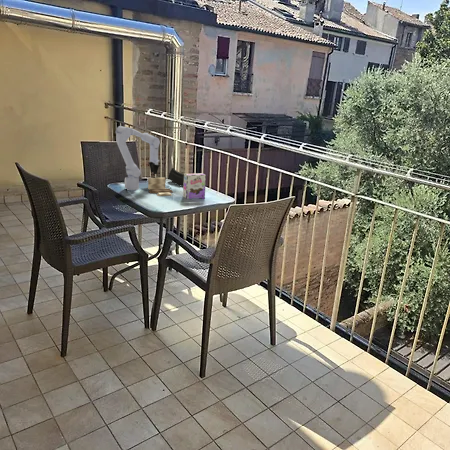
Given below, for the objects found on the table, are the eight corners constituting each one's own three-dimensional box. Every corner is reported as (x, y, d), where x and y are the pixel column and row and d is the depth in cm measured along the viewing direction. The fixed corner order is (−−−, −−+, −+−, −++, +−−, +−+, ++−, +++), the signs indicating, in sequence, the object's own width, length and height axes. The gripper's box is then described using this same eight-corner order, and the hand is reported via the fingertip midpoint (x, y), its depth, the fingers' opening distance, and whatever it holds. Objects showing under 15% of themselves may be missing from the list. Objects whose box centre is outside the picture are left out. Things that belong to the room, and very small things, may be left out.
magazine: (195, 177, 299) (175, 159, 317) (192, 177, 297) (171, 159, 315) (191, 198, 307) (171, 179, 326) (187, 198, 305) (167, 179, 324)
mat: (147, 191, 286) (147, 190, 285) (144, 189, 292) (144, 188, 292) (169, 190, 292) (169, 190, 292) (166, 188, 299) (166, 187, 299)
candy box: (186, 199, 271) (186, 175, 266) (182, 197, 276) (183, 173, 271) (205, 198, 277) (206, 174, 272) (201, 196, 282) (202, 172, 277)
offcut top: (159, 195, 273) (159, 194, 272) (157, 194, 276) (157, 192, 275) (170, 195, 276) (170, 193, 276) (169, 194, 280) (169, 192, 279)
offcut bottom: (157, 198, 273) (157, 195, 272) (156, 196, 276) (156, 194, 276) (172, 197, 277) (172, 195, 277) (170, 196, 280) (170, 193, 280)
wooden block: (148, 189, 289) (148, 178, 286) (148, 189, 290) (148, 177, 288) (165, 189, 294) (165, 178, 291) (164, 188, 295) (164, 177, 293)
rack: (150, 194, 278) (150, 190, 277) (148, 192, 283) (148, 189, 282) (173, 193, 285) (173, 190, 284) (170, 191, 289) (170, 188, 288)
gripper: (162, 155, 288) (162, 174, 292) (156, 152, 301) (156, 171, 305) (152, 155, 285) (152, 175, 289) (147, 152, 298) (147, 171, 302)
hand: (153, 173), depth 297 cm, fingers open, 7 cm apart
